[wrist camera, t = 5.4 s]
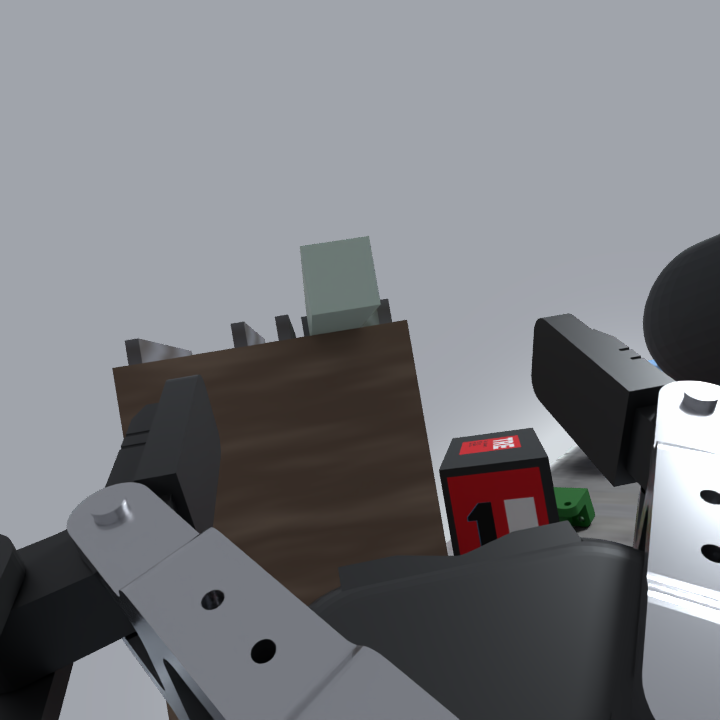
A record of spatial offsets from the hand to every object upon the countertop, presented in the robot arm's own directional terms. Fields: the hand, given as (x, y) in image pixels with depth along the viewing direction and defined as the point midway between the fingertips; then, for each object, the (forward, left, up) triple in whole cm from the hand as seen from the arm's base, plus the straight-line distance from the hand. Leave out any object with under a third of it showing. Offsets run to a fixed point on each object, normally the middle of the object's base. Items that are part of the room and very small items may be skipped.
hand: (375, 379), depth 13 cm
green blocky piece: (-49, -59, -29) cm, 81 cm away
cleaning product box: (-24, -33, -29) cm, 50 cm away
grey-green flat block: (-6, -22, +3) cm, 23 cm away
